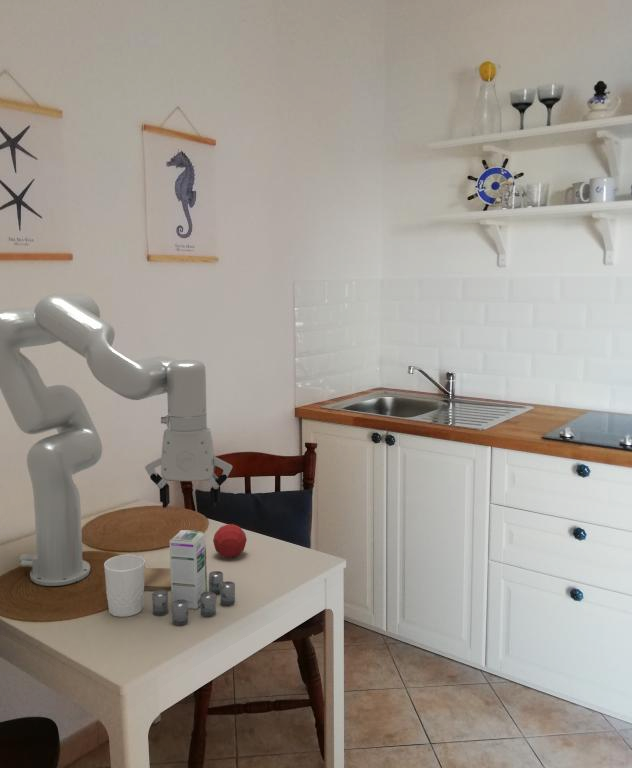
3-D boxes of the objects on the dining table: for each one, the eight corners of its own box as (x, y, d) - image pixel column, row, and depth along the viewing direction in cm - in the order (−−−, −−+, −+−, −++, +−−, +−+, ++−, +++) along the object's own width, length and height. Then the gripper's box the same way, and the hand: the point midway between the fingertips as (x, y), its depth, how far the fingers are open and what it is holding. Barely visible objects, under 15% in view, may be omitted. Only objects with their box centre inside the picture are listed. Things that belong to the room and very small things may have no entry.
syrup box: (197, 609, 143) (196, 541, 141) (170, 606, 144) (169, 539, 142) (207, 597, 149) (207, 531, 146) (180, 594, 150) (180, 528, 147)
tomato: (232, 528, 164) (232, 511, 171) (206, 547, 165) (206, 529, 172) (253, 550, 167) (252, 533, 174) (227, 569, 168) (227, 550, 175)
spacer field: (146, 625, 137) (145, 605, 136) (169, 580, 156) (169, 563, 155) (227, 627, 137) (227, 608, 136) (240, 582, 156) (240, 565, 155)
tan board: (121, 589, 151) (120, 585, 151) (132, 571, 160) (132, 567, 160) (172, 591, 151) (172, 586, 151) (181, 572, 160) (181, 568, 160)
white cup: (124, 622, 138) (123, 574, 136) (97, 611, 142) (95, 564, 140) (154, 606, 144) (153, 560, 143) (126, 596, 148) (125, 551, 147)
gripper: (139, 426, 137) (142, 511, 139) (228, 427, 136) (230, 512, 139) (149, 418, 144) (152, 499, 147) (233, 419, 144) (235, 500, 146)
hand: (189, 505), depth 143 cm, fingers open, 9 cm apart
